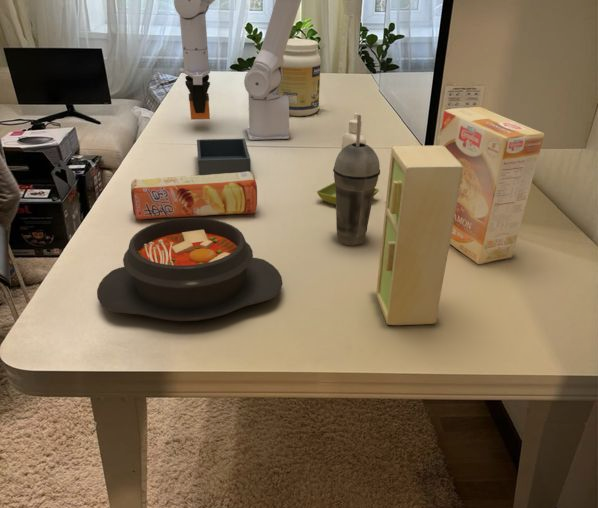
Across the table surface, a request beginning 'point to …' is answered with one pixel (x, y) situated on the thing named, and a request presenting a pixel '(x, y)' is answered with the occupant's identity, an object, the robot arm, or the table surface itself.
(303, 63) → the supplement tub
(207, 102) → the orange rectangular block
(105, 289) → the casserole
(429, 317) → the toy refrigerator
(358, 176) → the beverage cup
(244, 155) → the bin
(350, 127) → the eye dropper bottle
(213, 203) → the snack package
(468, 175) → the coffeecake box
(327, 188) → the saucer
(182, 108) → the table surface
